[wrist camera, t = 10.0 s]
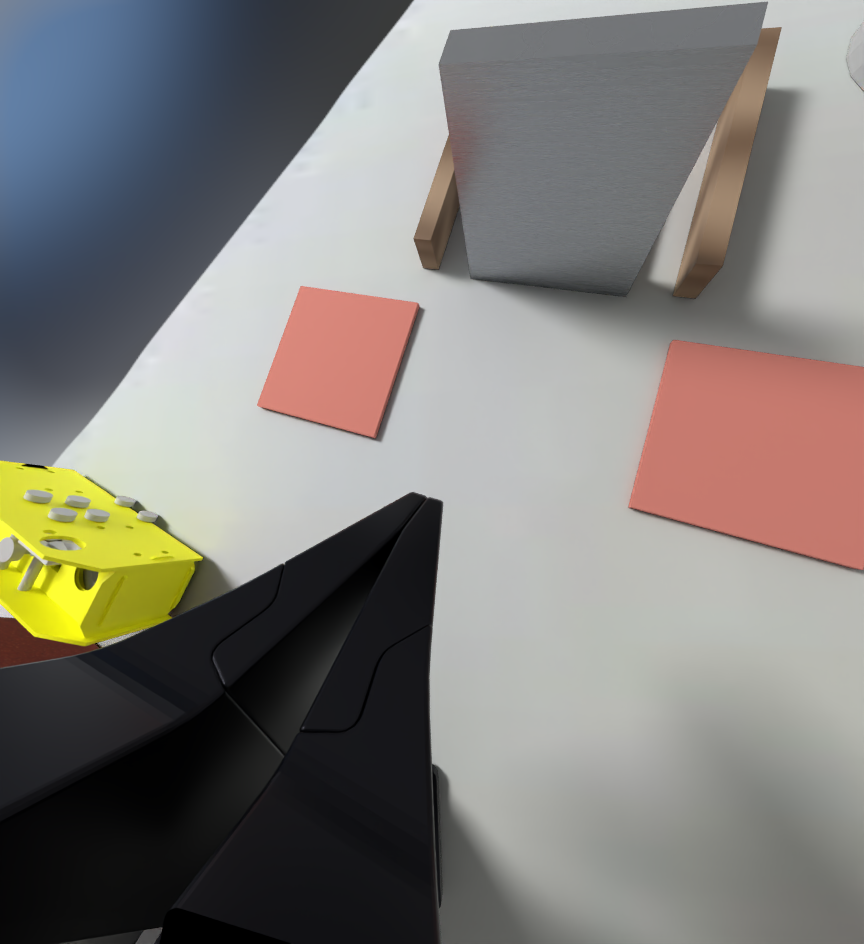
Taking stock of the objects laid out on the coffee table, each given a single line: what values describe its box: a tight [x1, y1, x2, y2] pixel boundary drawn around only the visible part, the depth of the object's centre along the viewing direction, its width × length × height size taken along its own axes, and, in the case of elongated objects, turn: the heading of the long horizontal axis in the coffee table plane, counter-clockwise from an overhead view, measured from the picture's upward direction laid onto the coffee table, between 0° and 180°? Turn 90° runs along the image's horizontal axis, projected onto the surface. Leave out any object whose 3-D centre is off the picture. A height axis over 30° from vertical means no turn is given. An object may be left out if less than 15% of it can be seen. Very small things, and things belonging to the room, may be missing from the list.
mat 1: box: [257, 286, 419, 438], centre depth 24 cm, size 10×10×1 cm
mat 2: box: [629, 340, 864, 570], centre depth 17 cm, size 10×10×1 cm
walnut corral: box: [414, 27, 782, 299], centre depth 21 cm, size 15×17×2 cm
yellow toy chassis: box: [0, 461, 203, 646], centre depth 22 cm, size 16×6×8 cm, turn 64°
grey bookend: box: [439, 2, 768, 297], centre depth 17 cm, size 12×10×11 cm
